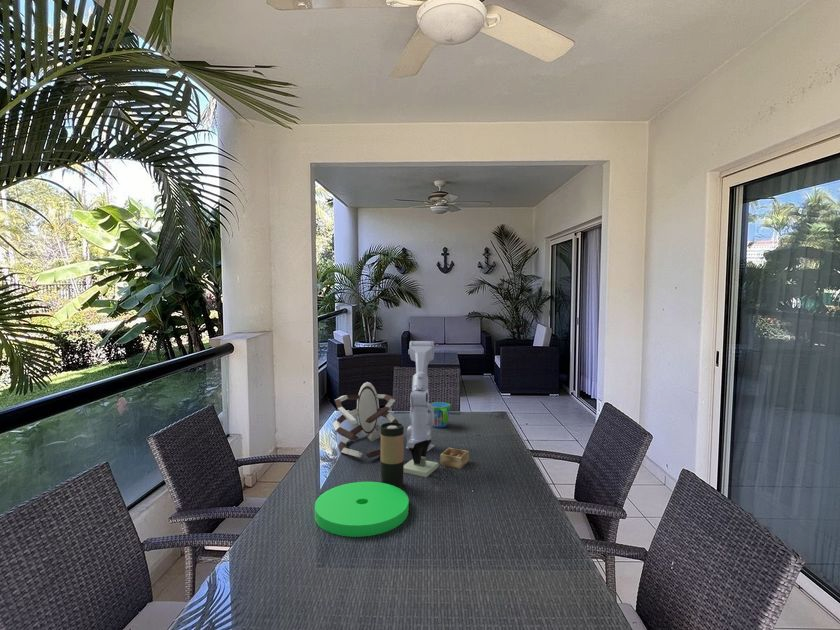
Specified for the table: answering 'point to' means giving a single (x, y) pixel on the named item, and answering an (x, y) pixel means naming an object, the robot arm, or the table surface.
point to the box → (454, 458)
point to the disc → (361, 509)
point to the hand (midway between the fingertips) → (419, 461)
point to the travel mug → (392, 454)
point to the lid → (420, 467)
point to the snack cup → (441, 413)
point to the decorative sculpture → (363, 417)
